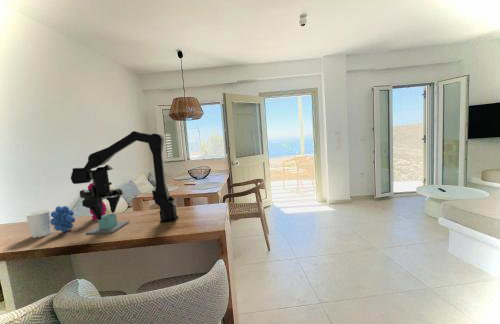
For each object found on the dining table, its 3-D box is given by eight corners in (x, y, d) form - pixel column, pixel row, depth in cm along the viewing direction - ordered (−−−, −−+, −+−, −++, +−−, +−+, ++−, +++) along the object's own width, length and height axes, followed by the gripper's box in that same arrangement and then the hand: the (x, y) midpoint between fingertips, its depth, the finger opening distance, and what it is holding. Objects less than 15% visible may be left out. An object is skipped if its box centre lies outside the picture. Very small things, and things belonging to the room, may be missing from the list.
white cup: (34, 239, 103) (30, 216, 102) (27, 236, 108) (23, 214, 106) (56, 232, 110) (52, 210, 109) (49, 230, 114) (45, 209, 113)
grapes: (63, 236, 104) (58, 209, 102) (48, 237, 104) (43, 210, 103) (84, 226, 115) (80, 201, 114) (70, 227, 116) (66, 202, 114)
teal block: (117, 224, 112) (115, 213, 112) (110, 228, 108) (108, 217, 107) (106, 224, 113) (105, 214, 112) (99, 229, 108) (97, 218, 107)
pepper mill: (102, 220, 123) (96, 180, 120) (88, 221, 123) (81, 181, 121) (110, 215, 130) (105, 177, 128) (97, 216, 130) (91, 178, 128)
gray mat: (129, 222, 116) (129, 221, 116) (113, 232, 104) (112, 231, 104) (104, 223, 117) (104, 222, 117) (86, 234, 105) (85, 232, 105)
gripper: (98, 178, 118) (103, 210, 120) (66, 187, 99) (73, 224, 101) (120, 176, 117) (125, 209, 119) (92, 185, 98) (98, 223, 100)
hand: (106, 216), depth 110 cm, fingers open, 9 cm apart
